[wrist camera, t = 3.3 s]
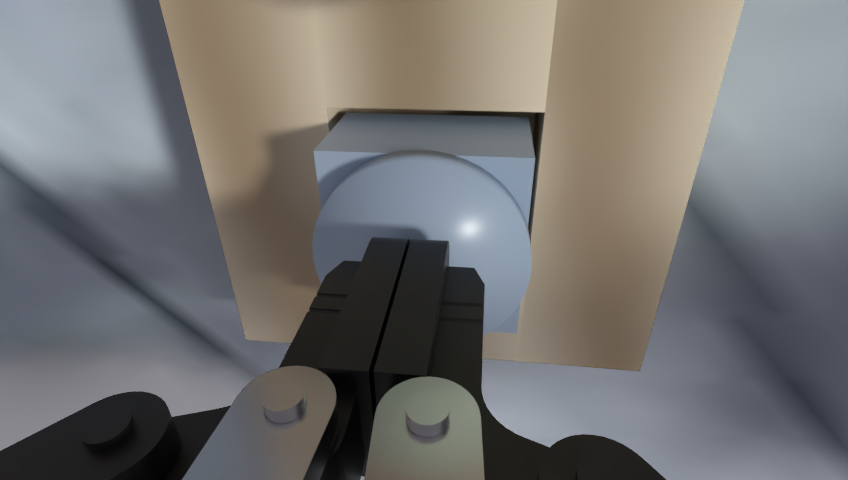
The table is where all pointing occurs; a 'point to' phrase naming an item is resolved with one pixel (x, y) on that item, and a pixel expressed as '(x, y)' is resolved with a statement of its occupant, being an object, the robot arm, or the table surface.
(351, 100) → the button panel
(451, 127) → the slate button
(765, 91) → the table surface
